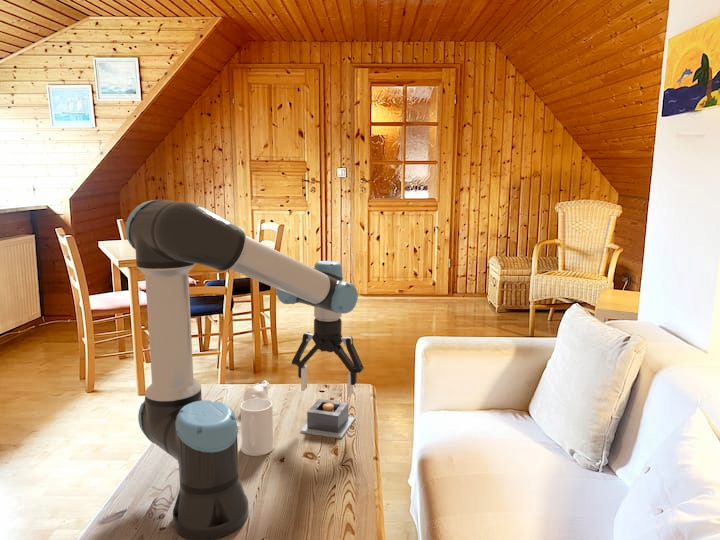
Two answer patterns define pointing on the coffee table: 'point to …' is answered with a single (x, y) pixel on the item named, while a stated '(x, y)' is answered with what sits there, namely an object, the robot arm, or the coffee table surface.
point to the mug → (257, 427)
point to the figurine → (257, 391)
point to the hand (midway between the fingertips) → (326, 392)
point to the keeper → (330, 408)
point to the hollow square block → (327, 416)
